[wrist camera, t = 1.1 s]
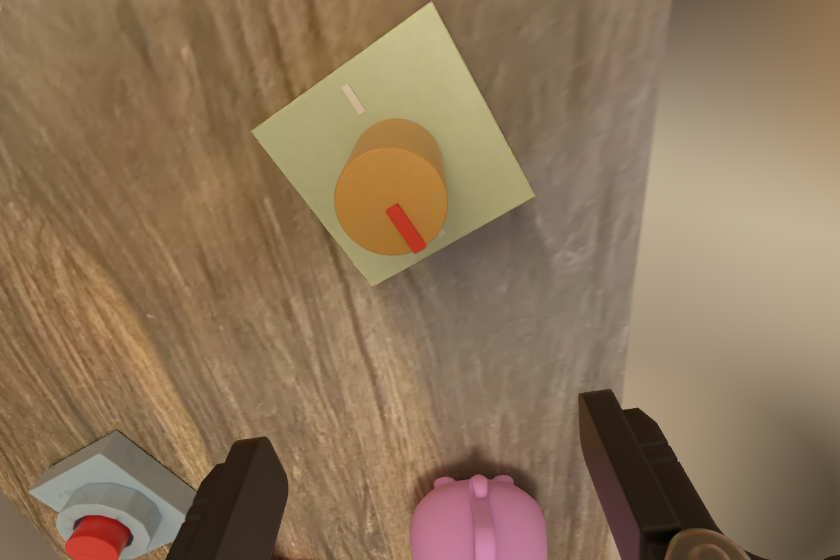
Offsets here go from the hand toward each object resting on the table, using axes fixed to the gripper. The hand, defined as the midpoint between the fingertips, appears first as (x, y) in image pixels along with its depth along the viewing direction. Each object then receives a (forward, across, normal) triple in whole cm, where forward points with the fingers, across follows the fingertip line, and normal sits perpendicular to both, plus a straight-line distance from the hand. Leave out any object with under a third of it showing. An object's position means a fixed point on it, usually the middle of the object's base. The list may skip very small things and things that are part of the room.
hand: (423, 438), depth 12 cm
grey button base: (+17, +27, +19) cm, 37 cm away
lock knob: (+14, +1, -3) cm, 15 cm away
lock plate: (+17, +1, -3) cm, 17 cm away
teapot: (+17, +1, +27) cm, 32 cm away
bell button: (+13, +27, +19) cm, 36 cm away
